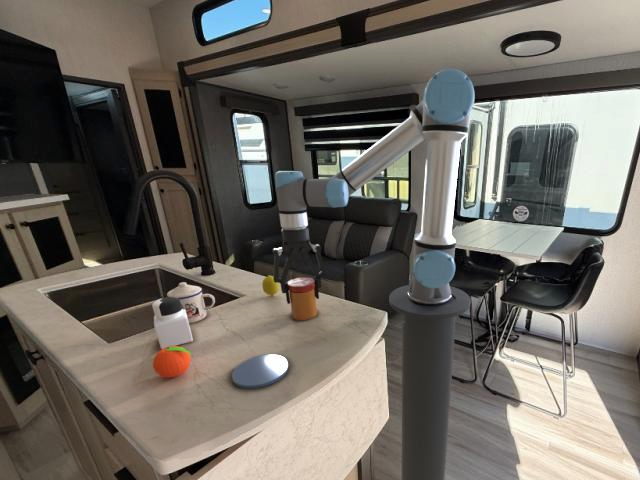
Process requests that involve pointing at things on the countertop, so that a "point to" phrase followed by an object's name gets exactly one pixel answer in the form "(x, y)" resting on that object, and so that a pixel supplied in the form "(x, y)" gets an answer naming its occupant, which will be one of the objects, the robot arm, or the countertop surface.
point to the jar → (303, 304)
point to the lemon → (270, 286)
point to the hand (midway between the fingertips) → (303, 299)
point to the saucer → (260, 371)
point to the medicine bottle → (171, 322)
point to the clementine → (171, 361)
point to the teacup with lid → (191, 301)
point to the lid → (301, 284)
